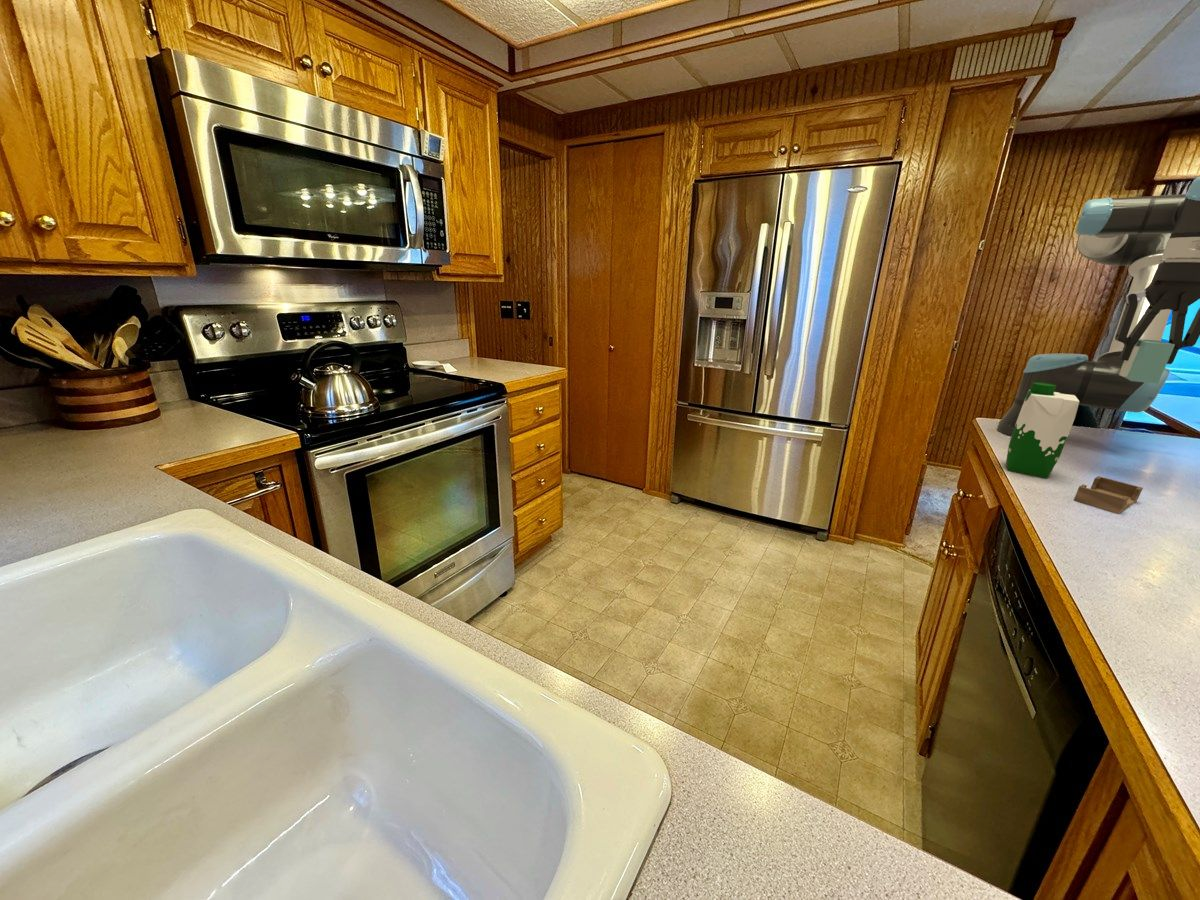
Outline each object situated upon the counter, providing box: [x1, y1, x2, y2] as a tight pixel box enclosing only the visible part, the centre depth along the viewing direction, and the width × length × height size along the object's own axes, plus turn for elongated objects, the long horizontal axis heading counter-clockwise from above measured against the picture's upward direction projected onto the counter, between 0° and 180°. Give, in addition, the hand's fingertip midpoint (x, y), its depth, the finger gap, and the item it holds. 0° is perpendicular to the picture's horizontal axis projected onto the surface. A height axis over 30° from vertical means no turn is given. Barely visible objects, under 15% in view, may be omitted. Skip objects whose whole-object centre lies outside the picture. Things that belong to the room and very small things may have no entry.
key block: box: [1118, 339, 1175, 384], centre depth 103 cm, size 9×4×8 cm, turn 146°
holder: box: [1073, 475, 1144, 515], centre depth 96 cm, size 12×7×3 cm, turn 121°
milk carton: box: [1005, 382, 1080, 479], centre depth 108 cm, size 9×9×20 cm
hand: (1138, 377), depth 104 cm, fingers closed on key block, 4 cm apart
